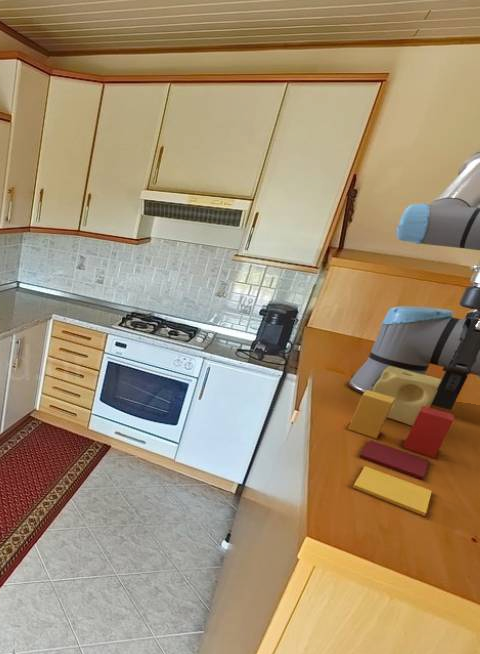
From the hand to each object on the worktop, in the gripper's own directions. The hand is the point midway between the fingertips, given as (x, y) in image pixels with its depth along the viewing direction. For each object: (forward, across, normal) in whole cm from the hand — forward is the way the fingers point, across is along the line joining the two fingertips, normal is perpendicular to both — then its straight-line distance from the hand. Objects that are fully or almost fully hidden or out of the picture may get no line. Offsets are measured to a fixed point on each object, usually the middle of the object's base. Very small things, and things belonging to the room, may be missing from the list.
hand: (443, 399), depth 92 cm
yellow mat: (+11, +26, -1) cm, 28 cm away
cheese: (+11, -20, -6) cm, 23 cm away
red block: (+11, 0, 0) cm, 11 cm away
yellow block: (+11, 0, -9) cm, 14 cm away
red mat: (+11, +11, -3) cm, 16 cm away
